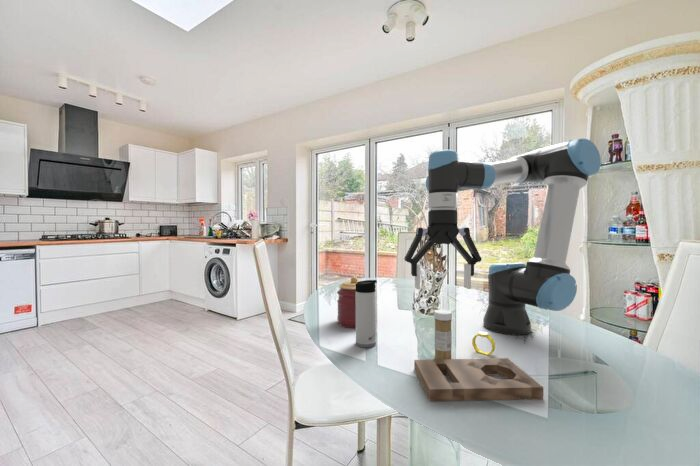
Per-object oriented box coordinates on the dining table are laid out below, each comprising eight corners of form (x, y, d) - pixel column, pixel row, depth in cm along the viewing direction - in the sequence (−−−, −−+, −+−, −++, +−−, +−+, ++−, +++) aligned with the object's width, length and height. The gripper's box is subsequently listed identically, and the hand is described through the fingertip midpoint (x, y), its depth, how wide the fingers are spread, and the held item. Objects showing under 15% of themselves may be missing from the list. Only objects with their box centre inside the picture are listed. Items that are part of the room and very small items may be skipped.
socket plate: (507, 367, 78) (507, 358, 78) (543, 398, 64) (543, 387, 64) (414, 369, 77) (414, 359, 77) (429, 401, 63) (429, 389, 63)
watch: (471, 353, 88) (470, 332, 88) (475, 350, 90) (474, 329, 90) (493, 357, 84) (491, 336, 84) (496, 354, 86) (495, 333, 86)
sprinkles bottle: (443, 355, 86) (443, 308, 85) (455, 361, 82) (455, 312, 81) (430, 358, 84) (430, 310, 83) (442, 365, 80) (442, 314, 79)
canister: (377, 320, 117) (377, 275, 117) (360, 331, 106) (360, 280, 106) (349, 315, 124) (348, 272, 124) (330, 324, 113) (330, 277, 113)
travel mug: (375, 349, 90) (375, 282, 90) (354, 347, 92) (353, 281, 91) (378, 341, 97) (377, 278, 96) (357, 339, 98) (357, 278, 97)
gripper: (399, 208, 78) (398, 291, 78) (495, 208, 78) (494, 290, 79) (394, 210, 85) (394, 285, 86) (482, 210, 86) (481, 285, 86)
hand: (442, 288), depth 82 cm, fingers open, 13 cm apart
